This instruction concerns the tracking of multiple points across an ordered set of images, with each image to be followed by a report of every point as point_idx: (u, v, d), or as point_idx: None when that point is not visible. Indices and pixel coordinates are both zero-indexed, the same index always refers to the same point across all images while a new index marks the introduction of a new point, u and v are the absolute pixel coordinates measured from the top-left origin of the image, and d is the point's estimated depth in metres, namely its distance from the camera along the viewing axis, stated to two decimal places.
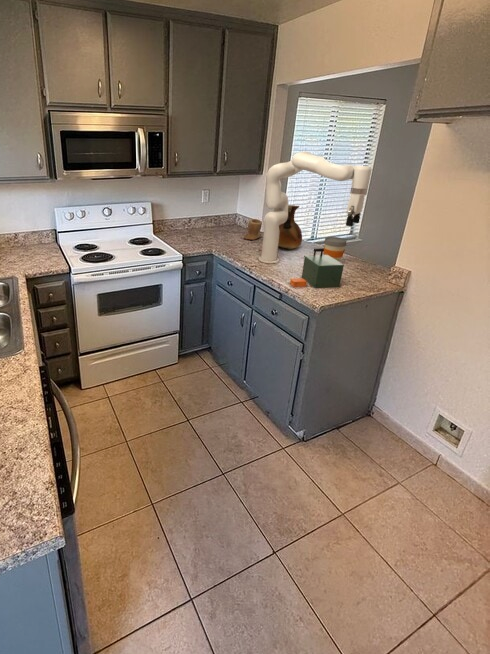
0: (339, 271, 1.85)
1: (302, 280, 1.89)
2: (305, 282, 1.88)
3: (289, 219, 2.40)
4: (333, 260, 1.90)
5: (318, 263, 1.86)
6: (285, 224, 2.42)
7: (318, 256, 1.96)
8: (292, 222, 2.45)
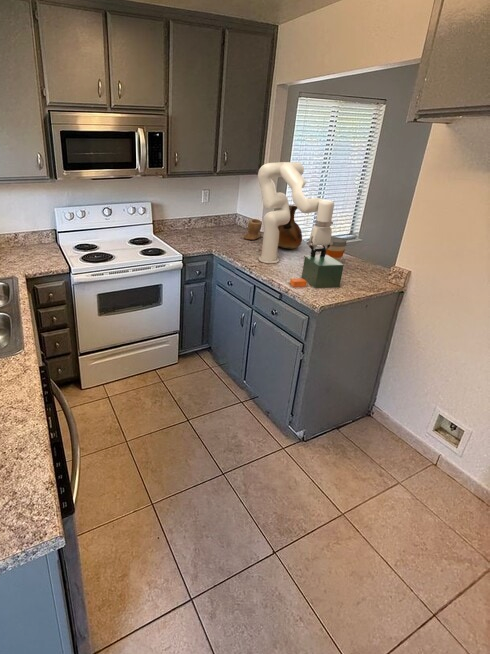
0: (339, 271, 1.85)
1: (302, 280, 1.89)
2: (305, 282, 1.88)
3: None
4: (333, 260, 1.90)
5: (318, 263, 1.86)
6: (285, 224, 2.42)
7: (318, 256, 1.96)
8: (292, 222, 2.45)
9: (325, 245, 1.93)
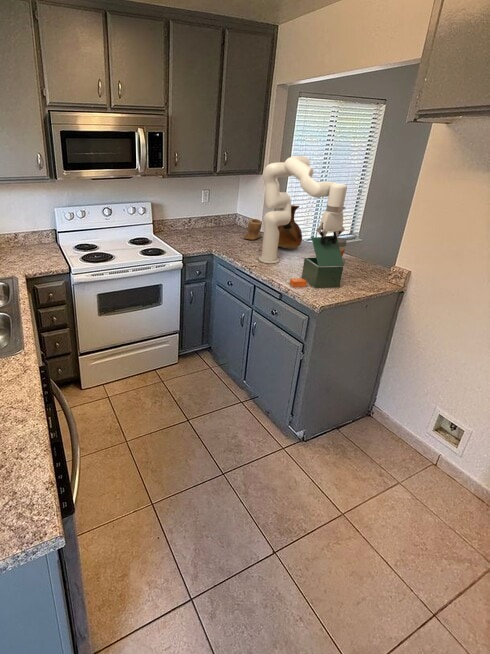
0: (339, 271, 1.85)
1: (302, 280, 1.89)
2: (305, 282, 1.88)
3: None
4: (337, 253, 1.86)
5: (320, 260, 1.84)
6: None
7: (326, 241, 1.88)
8: (292, 222, 2.45)
9: (336, 232, 1.82)
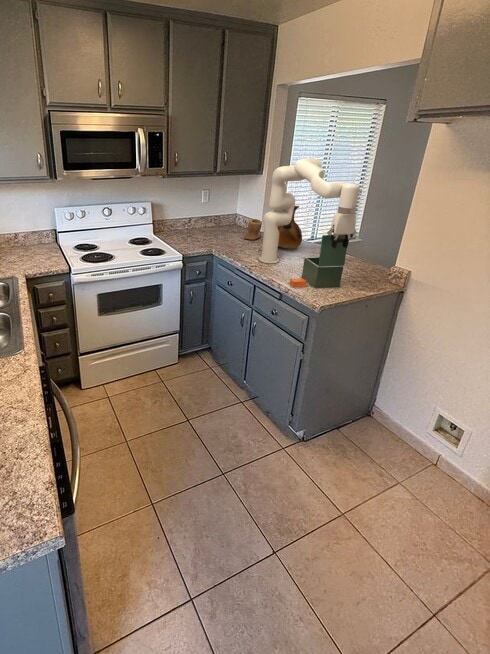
0: (339, 271, 1.85)
1: (302, 280, 1.89)
2: (305, 282, 1.88)
3: None
4: (342, 252, 1.81)
5: (322, 260, 1.81)
6: None
7: None
8: (292, 222, 2.45)
9: (348, 235, 1.72)
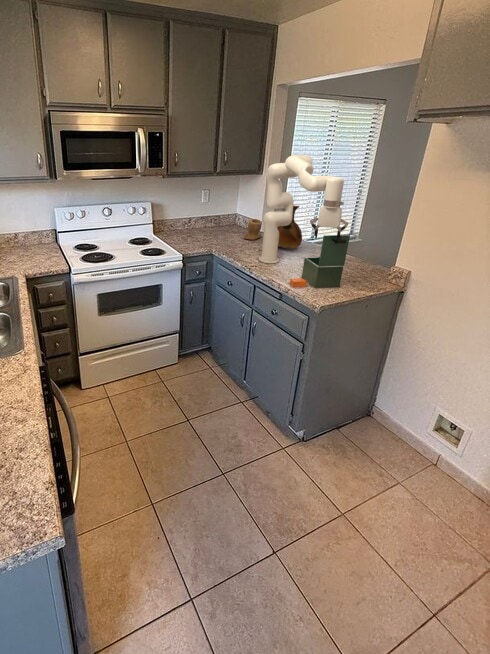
0: (339, 271, 1.85)
1: (302, 280, 1.89)
2: (305, 282, 1.88)
3: None
4: (343, 253, 1.81)
5: (322, 260, 1.81)
6: None
7: (337, 240, 1.78)
8: (292, 222, 2.45)
9: (336, 227, 1.73)
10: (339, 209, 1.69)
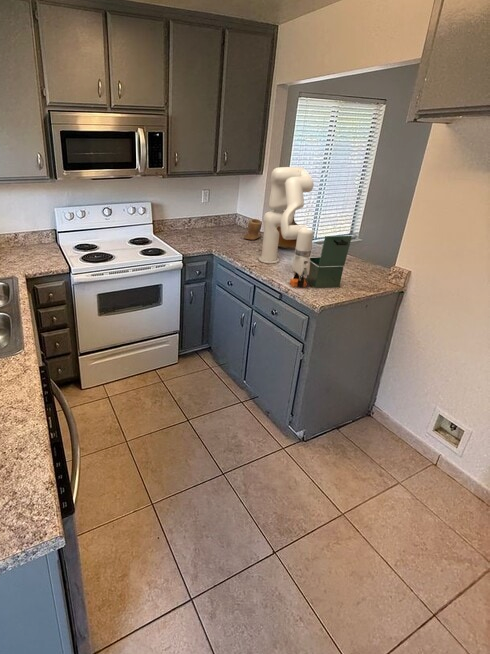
0: (339, 271, 1.85)
1: None
2: (305, 282, 1.88)
3: None
4: (344, 253, 1.80)
5: (323, 260, 1.81)
6: None
7: (338, 241, 1.77)
8: (292, 222, 2.45)
9: (299, 275, 1.86)
10: (301, 259, 1.81)
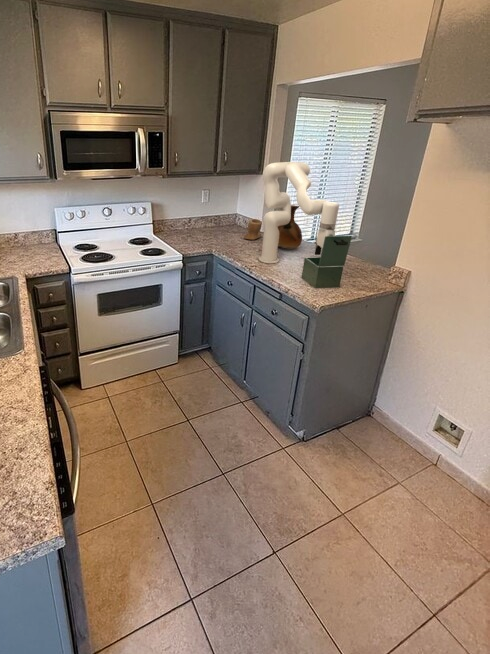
0: (339, 271, 1.85)
1: None
2: None
3: None
4: (344, 253, 1.80)
5: (323, 260, 1.81)
6: None
7: (338, 241, 1.77)
8: (292, 222, 2.45)
9: None
10: (326, 232, 1.83)
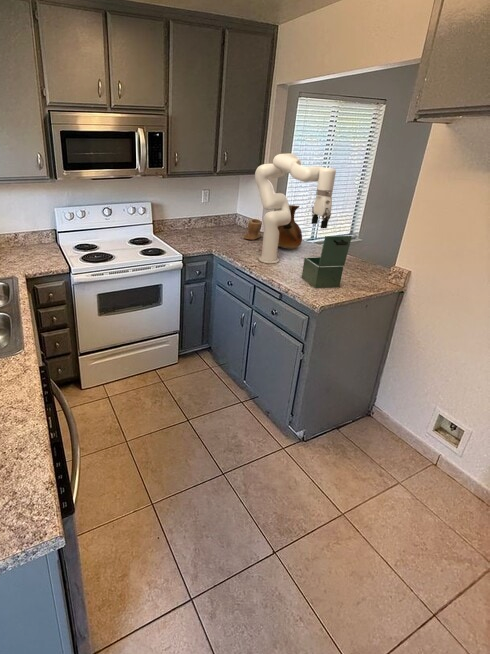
0: (339, 271, 1.85)
1: None
2: None
3: None
4: (344, 253, 1.80)
5: (323, 260, 1.81)
6: None
7: (338, 241, 1.77)
8: (292, 222, 2.45)
9: (322, 216, 1.82)
10: (323, 198, 1.79)
